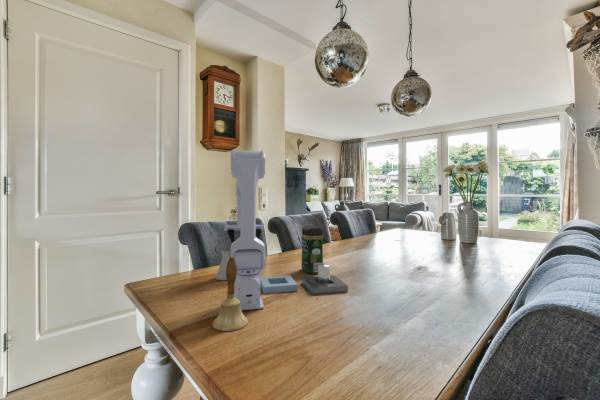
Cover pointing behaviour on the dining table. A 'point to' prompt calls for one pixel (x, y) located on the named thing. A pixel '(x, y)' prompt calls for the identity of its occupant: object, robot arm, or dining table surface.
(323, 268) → the steel peg
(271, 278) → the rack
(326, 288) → the socket block
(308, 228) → the coffee jar
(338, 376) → the dining table surface
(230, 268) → the hand bell
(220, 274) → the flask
